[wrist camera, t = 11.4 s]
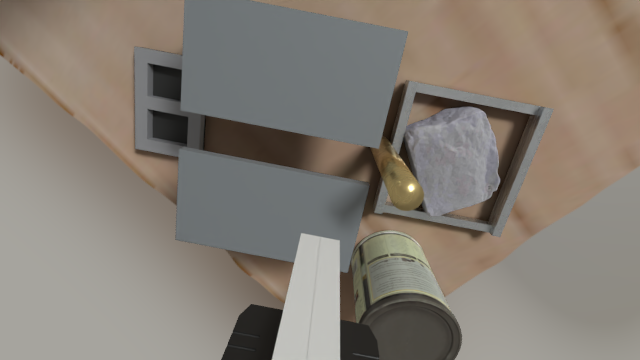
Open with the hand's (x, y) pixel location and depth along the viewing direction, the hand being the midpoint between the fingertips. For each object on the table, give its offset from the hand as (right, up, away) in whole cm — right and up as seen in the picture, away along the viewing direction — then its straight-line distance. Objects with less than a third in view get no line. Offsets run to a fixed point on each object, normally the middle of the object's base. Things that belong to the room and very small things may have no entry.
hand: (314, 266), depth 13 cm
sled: (+15, +6, +27) cm, 31 cm away
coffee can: (+10, -8, +32) cm, 35 cm away
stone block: (+16, +6, +27) cm, 32 cm away
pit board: (-18, +13, +27) cm, 35 cm away
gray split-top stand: (-3, +10, +27) cm, 29 cm away
